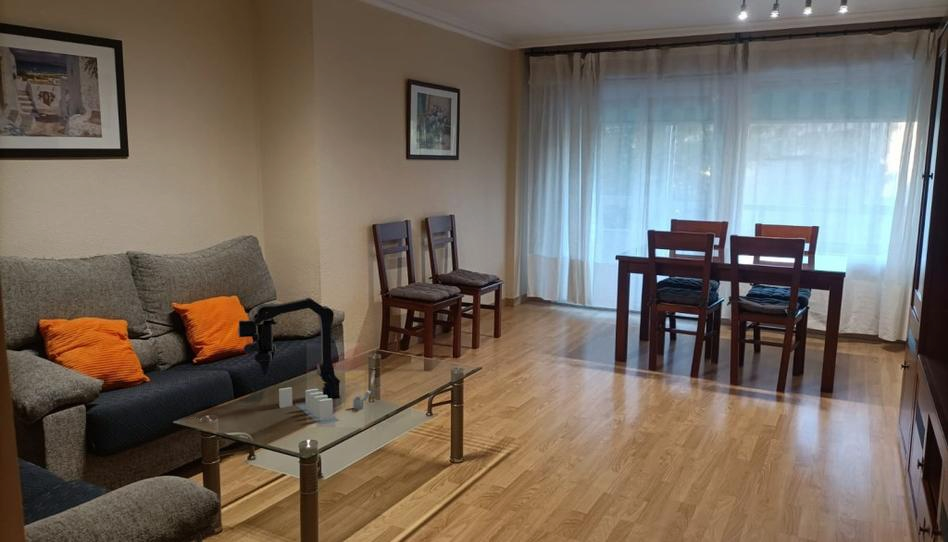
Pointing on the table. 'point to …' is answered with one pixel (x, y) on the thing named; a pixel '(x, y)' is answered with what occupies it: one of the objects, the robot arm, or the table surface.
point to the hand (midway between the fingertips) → (266, 372)
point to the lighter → (360, 401)
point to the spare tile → (285, 397)
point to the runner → (303, 407)
